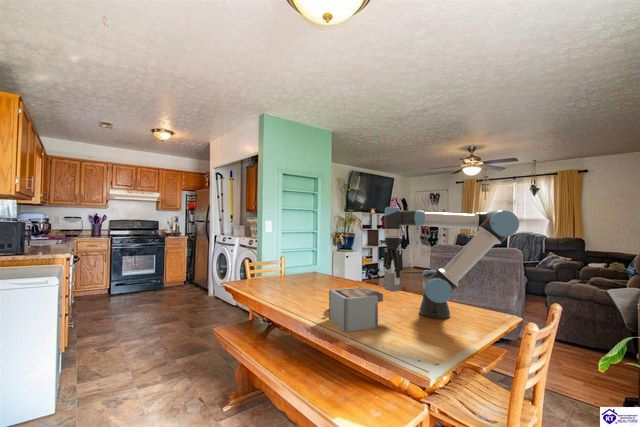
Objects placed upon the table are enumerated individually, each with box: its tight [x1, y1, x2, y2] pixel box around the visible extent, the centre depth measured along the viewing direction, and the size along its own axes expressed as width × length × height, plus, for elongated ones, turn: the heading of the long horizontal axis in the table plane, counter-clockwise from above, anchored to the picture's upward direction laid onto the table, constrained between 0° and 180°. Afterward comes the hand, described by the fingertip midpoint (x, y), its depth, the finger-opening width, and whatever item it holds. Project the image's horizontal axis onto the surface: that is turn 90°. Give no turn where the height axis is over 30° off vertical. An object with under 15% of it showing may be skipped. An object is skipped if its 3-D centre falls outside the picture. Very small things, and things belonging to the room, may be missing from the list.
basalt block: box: [383, 270, 403, 293], centre depth 151 cm, size 6×6×9 cm
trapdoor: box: [338, 287, 384, 303], centre depth 144 cm, size 18×14×4 cm
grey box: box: [328, 287, 379, 333], centre depth 143 cm, size 16×18×14 cm
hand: (392, 283), depth 151 cm, fingers closed on basalt block, 6 cm apart
